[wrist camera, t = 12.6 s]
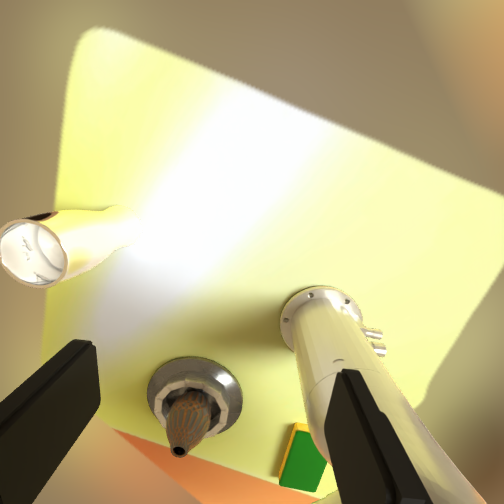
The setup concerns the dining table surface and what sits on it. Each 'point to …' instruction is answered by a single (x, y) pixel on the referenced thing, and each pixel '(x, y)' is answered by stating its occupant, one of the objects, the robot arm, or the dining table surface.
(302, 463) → the dish sponge
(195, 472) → the dining table surface
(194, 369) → the ring seat
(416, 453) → the robot arm
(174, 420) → the vase
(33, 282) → the beer glass
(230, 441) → the dining table surface
